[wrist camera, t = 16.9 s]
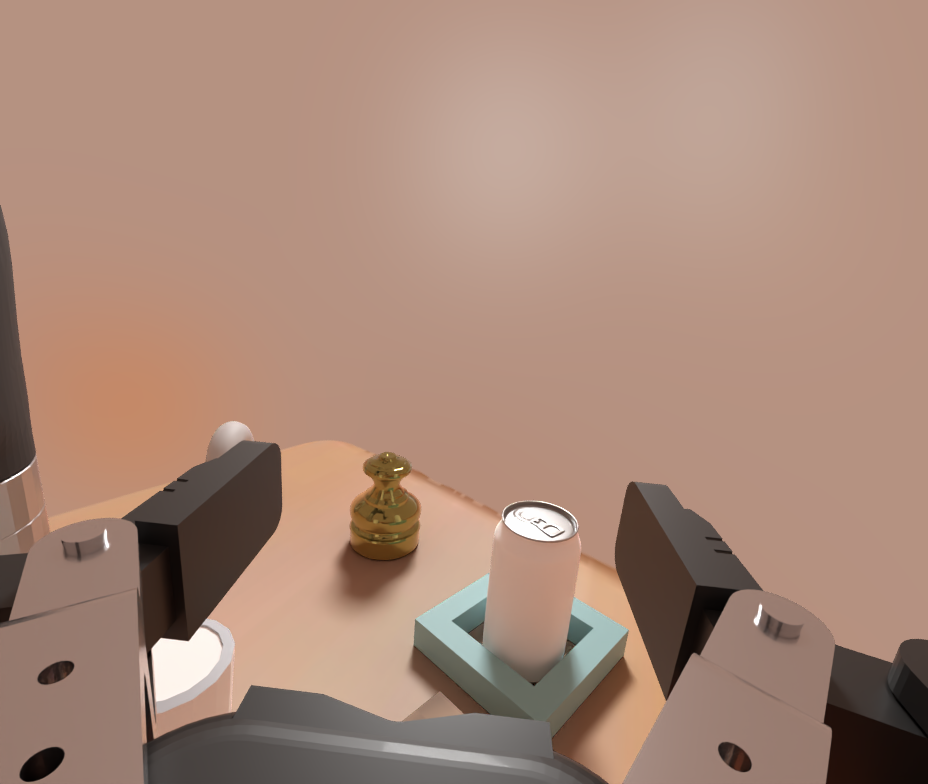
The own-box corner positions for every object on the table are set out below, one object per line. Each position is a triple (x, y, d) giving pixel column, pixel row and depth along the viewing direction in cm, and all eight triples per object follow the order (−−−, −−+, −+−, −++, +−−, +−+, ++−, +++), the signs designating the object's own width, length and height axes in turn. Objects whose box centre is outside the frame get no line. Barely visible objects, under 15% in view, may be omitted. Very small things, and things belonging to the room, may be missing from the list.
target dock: (413, 645, 39) (415, 618, 38) (508, 581, 47) (511, 559, 46) (536, 755, 31) (541, 725, 30) (623, 655, 39) (628, 630, 38)
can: (520, 612, 43) (536, 490, 40) (579, 660, 38) (603, 526, 35) (465, 644, 39) (477, 512, 36) (523, 702, 34) (544, 556, 31)
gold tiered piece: (410, 519, 57) (414, 439, 54) (427, 556, 50) (432, 467, 47) (345, 526, 54) (346, 443, 51) (354, 567, 47) (356, 474, 45)
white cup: (118, 724, 31) (104, 633, 29) (237, 688, 34) (232, 604, 32) (96, 841, 25) (77, 736, 23) (244, 783, 28) (237, 687, 26)
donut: (231, 484, 61) (227, 409, 58) (260, 484, 62) (257, 409, 59) (203, 527, 52) (196, 440, 49) (237, 527, 52) (232, 441, 49)
